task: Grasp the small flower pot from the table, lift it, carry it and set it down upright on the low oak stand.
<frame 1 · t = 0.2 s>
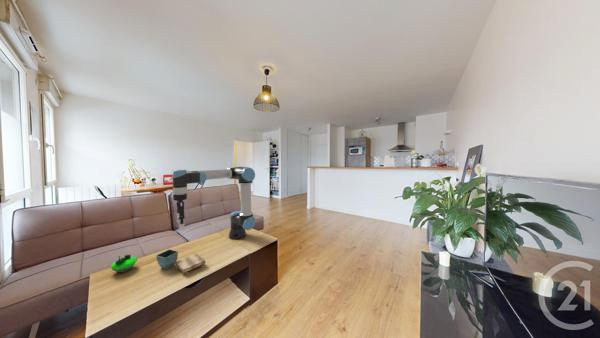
hand: (180, 225, 118), 28 cm above the table, fingers open, 13 cm apart
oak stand: (190, 267, 119), on the table
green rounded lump: (125, 270, 115), on the table
flower pot: (167, 266, 119), on the table
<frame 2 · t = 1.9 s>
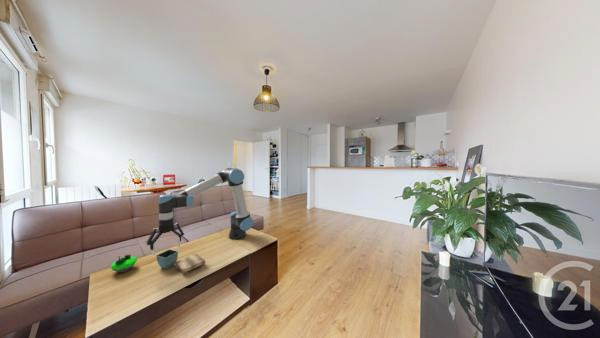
hand: (166, 250, 118), 11 cm above the table, fingers open, 13 cm apart
nothing on the table moved.
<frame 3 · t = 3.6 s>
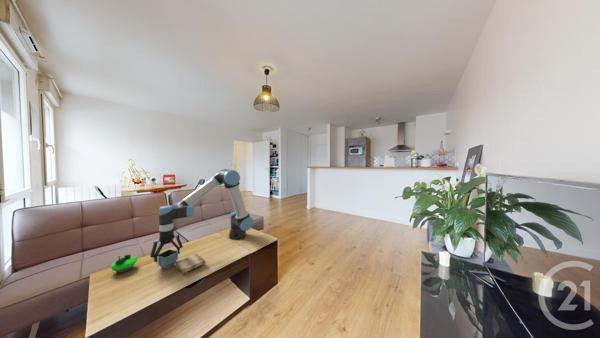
hand: (167, 262, 119), 3 cm above the table, fingers closed on flower pot, 10 cm apart
flower pot: (167, 266, 119), on the table, touching gripper
everything else where it was.
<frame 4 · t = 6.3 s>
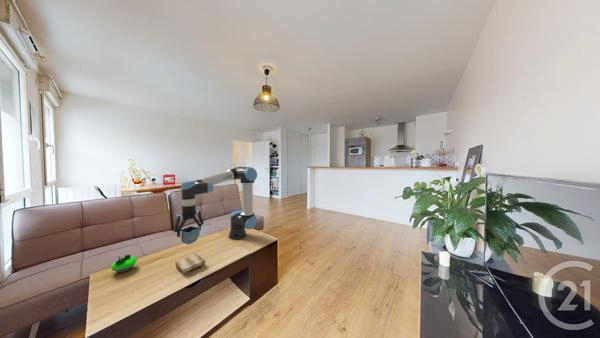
hand: (189, 238, 118), 19 cm above the table, fingers closed on flower pot, 10 cm apart
flower pot: (189, 242, 118), point 16 cm above the table, touching gripper
everything else where it was.
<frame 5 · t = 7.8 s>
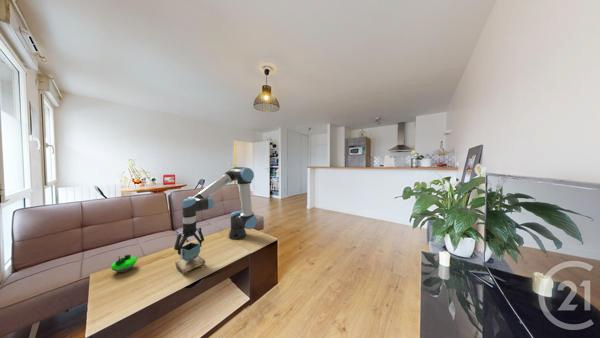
hand: (190, 255, 118), 8 cm above the table, fingers closed on flower pot, 10 cm apart
flower pot: (190, 259, 119), point 5 cm above the table, touching gripper
everything else where it was.
when the fingers open (7 cm above the table, at t = 9.1 s): flower pot stays where it is, resting on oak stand.
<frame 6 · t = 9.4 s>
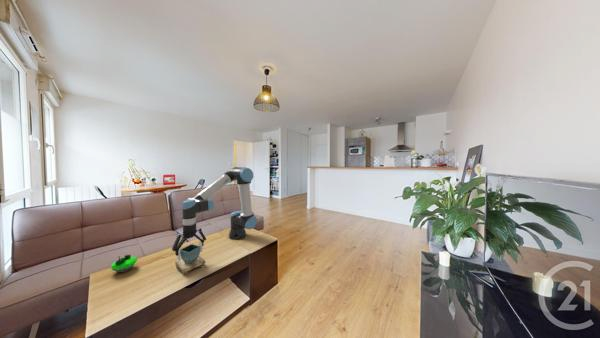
hand: (190, 255, 118), 8 cm above the table, fingers open, 13 cm apart
flower pot: (190, 261, 119), point 4 cm above the table, touching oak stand
everything else where it was.
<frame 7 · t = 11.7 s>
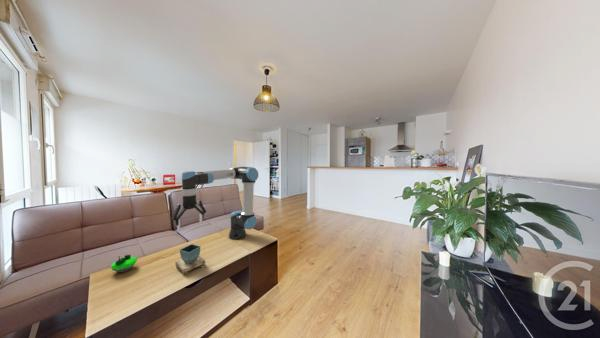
hand: (190, 226, 119), 27 cm above the table, fingers open, 13 cm apart
nothing on the table moved.
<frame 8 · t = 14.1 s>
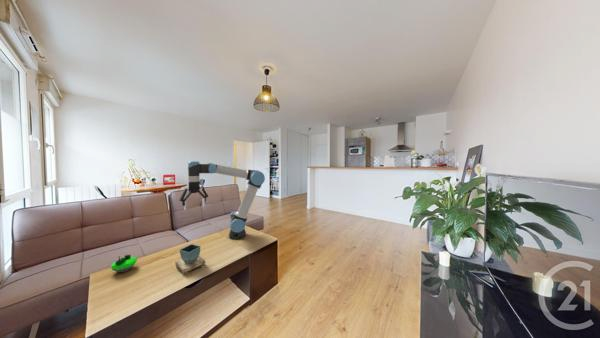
hand: (194, 207, 141), 33 cm above the table, fingers open, 13 cm apart
nothing on the table moved.
at the end: flower pot inside the target area on the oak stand (0.0 cm from its centre), point 3.8 cm above the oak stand's base; flower pot tilted 0°; the gripper is holding nothing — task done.
